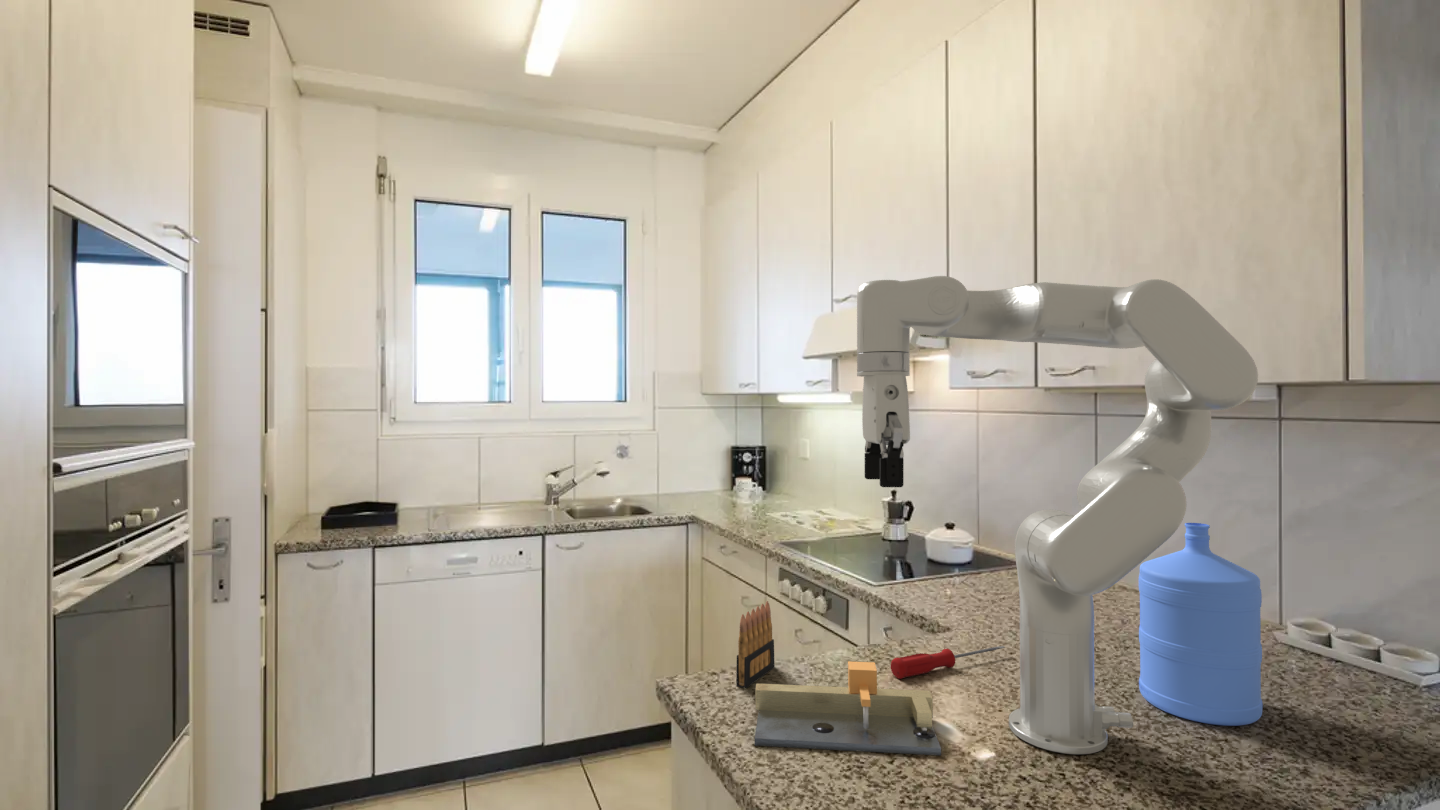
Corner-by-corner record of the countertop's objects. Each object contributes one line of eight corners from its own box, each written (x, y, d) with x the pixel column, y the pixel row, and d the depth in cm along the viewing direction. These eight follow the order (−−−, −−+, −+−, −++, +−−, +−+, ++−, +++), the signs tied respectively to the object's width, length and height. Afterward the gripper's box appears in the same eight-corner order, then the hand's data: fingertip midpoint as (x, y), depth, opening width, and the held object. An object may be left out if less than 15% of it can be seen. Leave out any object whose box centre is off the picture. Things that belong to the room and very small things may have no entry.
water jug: (1283, 735, 96) (1282, 536, 96) (1155, 720, 101) (1154, 531, 101) (1237, 690, 111) (1235, 518, 111) (1127, 679, 116) (1126, 514, 116)
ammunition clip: (765, 665, 124) (765, 598, 124) (774, 667, 123) (774, 600, 123) (736, 686, 115) (735, 614, 115) (745, 688, 114) (744, 616, 114)
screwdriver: (1011, 659, 126) (1011, 640, 126) (901, 683, 116) (901, 662, 116) (996, 653, 129) (996, 634, 129) (888, 675, 119) (888, 655, 119)
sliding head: (875, 704, 104) (874, 662, 104) (880, 730, 96) (880, 684, 96) (848, 703, 105) (848, 661, 105) (851, 728, 96) (851, 683, 96)
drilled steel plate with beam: (926, 709, 105) (926, 683, 105) (944, 755, 92) (944, 725, 92) (757, 701, 109) (757, 676, 109) (750, 745, 95) (750, 716, 95)
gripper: (926, 362, 92) (926, 490, 92) (893, 369, 109) (893, 476, 109) (870, 362, 92) (870, 490, 92) (846, 369, 109) (846, 476, 109)
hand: (883, 482), depth 100 cm, fingers open, 9 cm apart
